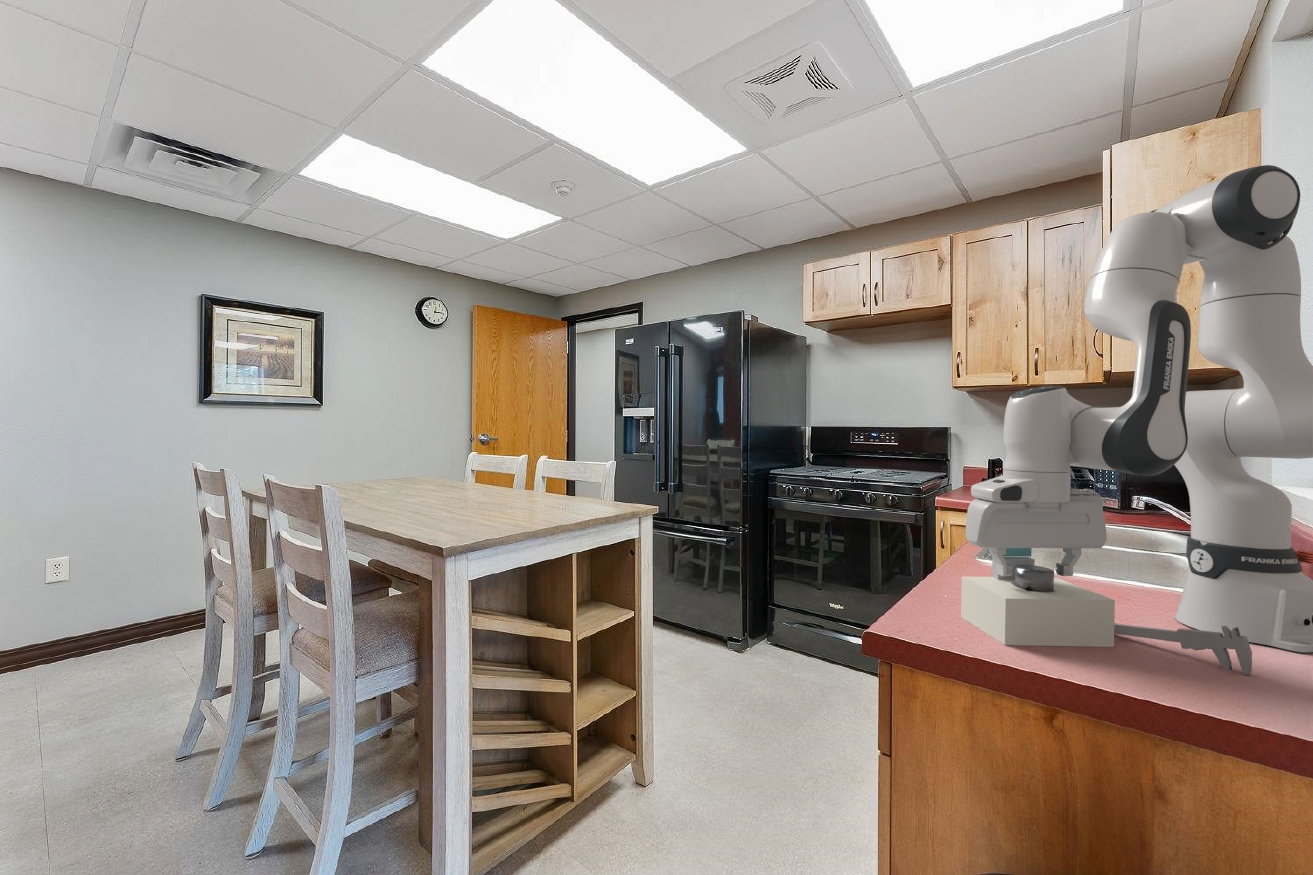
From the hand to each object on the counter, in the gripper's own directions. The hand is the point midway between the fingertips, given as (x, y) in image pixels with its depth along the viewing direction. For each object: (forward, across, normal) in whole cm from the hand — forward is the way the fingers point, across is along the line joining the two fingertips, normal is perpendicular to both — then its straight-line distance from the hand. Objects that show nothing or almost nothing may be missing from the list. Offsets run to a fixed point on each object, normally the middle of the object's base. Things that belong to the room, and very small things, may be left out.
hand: (1034, 575), depth 87 cm
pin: (+8, 0, 0) cm, 8 cm away
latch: (-6, 0, -5) cm, 8 cm away
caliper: (+10, -14, +6) cm, 18 cm away
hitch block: (+9, 0, 0) cm, 9 cm away
